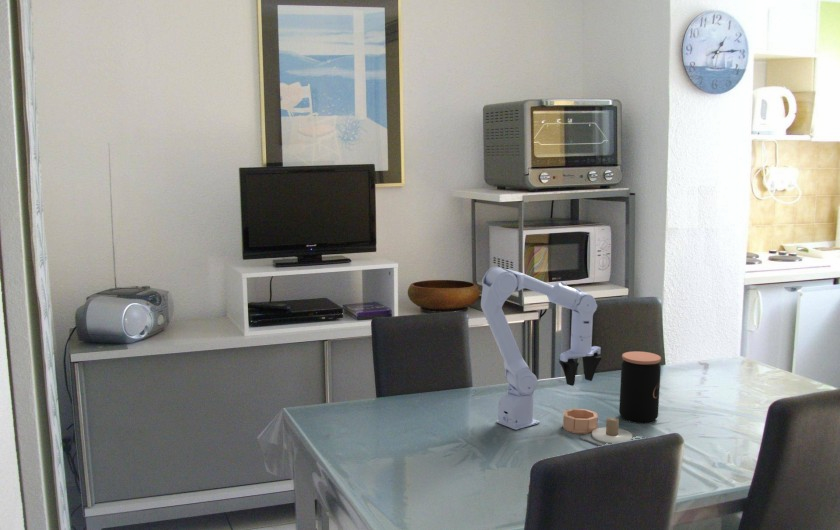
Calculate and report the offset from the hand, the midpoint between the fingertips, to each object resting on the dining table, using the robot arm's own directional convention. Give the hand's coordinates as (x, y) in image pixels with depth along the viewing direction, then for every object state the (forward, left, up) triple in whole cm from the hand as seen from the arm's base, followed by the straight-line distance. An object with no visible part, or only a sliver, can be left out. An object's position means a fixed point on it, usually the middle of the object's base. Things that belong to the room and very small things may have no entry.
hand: (579, 382), depth 238 cm
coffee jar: (+14, -10, -11) cm, 20 cm away
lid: (-5, -16, -10) cm, 20 cm away
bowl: (-6, -6, -10) cm, 13 cm away
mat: (-5, -17, -10) cm, 20 cm away
